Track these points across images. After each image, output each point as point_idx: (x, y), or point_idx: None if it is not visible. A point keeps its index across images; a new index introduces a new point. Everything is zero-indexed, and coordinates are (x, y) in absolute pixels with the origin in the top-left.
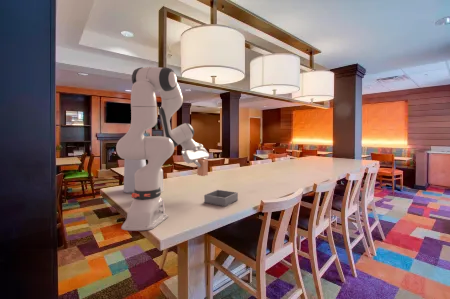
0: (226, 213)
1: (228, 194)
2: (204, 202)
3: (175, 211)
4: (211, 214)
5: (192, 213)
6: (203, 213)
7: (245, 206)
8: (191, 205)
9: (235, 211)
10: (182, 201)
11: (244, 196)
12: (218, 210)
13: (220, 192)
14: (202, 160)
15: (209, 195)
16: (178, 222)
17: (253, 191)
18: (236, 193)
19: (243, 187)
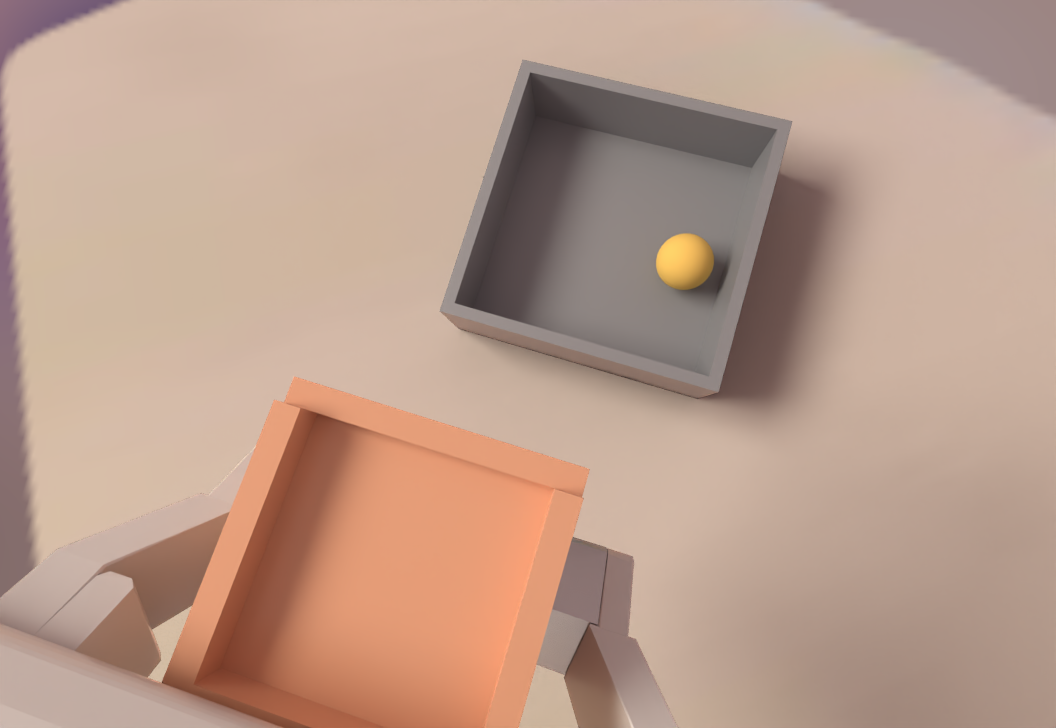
0: (941, 107)
1: (503, 182)
2: (698, 397)
3: (1052, 587)
4: (1010, 220)
5: (1046, 396)
6: (1010, 297)
7: (704, 4)
8: (819, 500)
9: (865, 50)
10: (712, 658)
11: (390, 79)
12: (885, 194)
13: (470, 277)
14: (560, 532)
15: (724, 324)
16: None
17: (191, 35)
18: (548, 68)
19: (35, 164)
